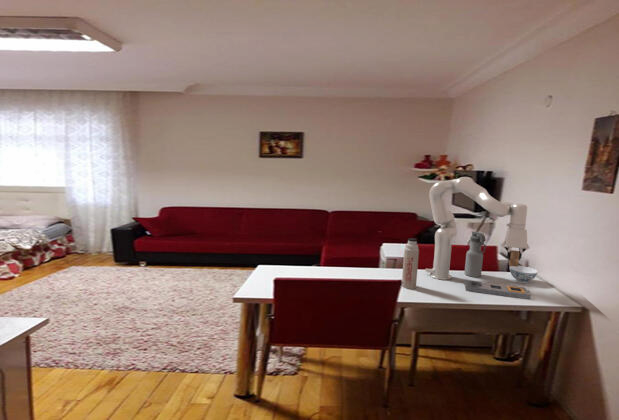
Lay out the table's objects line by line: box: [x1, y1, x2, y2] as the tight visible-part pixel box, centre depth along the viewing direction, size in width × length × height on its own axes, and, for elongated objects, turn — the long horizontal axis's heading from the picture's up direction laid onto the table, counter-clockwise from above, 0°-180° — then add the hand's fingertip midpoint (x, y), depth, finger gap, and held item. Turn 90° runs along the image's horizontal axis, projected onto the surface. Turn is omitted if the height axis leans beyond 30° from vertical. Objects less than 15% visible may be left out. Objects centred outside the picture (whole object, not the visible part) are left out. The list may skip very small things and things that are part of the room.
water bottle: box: [464, 230, 487, 278], centre depth 230 cm, size 10×10×28 cm
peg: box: [508, 249, 520, 267], centre depth 200 cm, size 4×4×8 cm
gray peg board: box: [463, 279, 532, 300], centre depth 205 cm, size 32×12×3 cm, turn 72°
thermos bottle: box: [401, 237, 420, 290], centre depth 206 cm, size 8×8×28 cm
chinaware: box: [509, 265, 539, 284], centre depth 223 cm, size 15×15×8 cm
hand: (513, 258), depth 200 cm, fingers closed on peg, 4 cm apart
